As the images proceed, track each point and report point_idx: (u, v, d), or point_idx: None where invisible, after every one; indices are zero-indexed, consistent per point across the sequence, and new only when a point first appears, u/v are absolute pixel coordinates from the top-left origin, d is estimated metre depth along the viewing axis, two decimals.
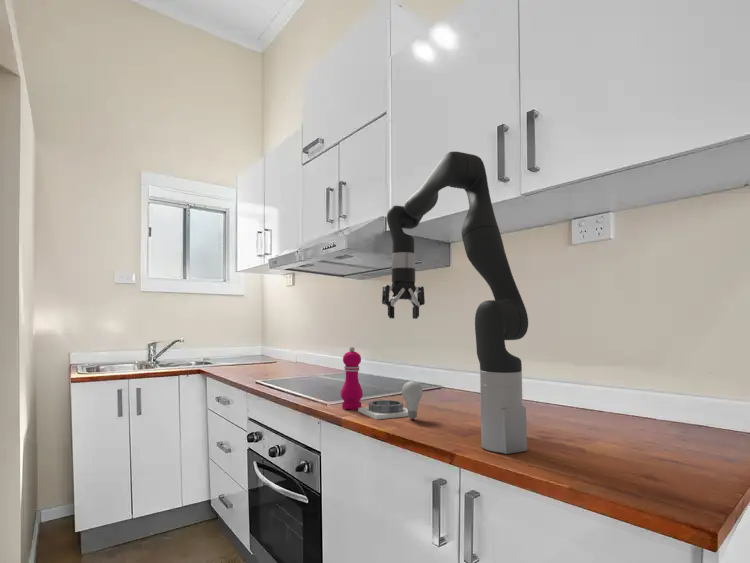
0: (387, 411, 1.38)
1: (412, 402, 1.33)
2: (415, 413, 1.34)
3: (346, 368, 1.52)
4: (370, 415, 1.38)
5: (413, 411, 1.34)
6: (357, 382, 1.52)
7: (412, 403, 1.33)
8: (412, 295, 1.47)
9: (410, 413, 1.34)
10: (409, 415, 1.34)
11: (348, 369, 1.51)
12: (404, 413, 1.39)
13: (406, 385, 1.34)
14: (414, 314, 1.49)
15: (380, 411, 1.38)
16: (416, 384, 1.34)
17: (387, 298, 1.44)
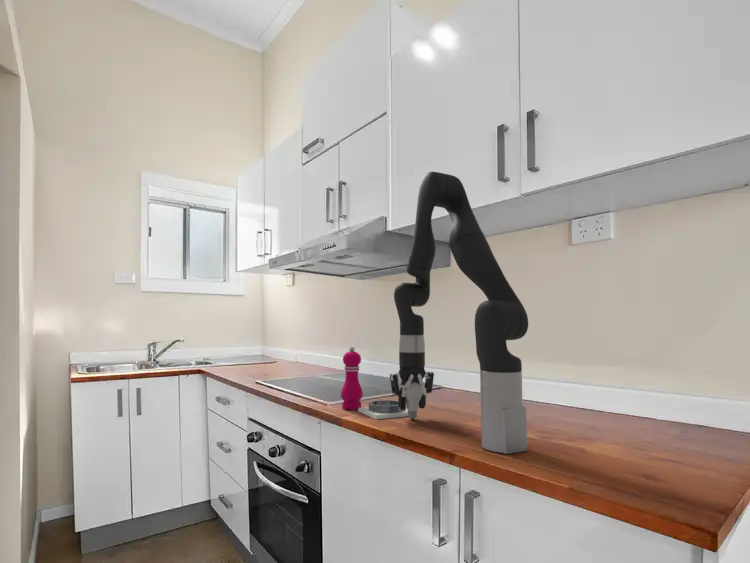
0: (387, 411, 1.38)
1: (412, 402, 1.33)
2: (415, 413, 1.34)
3: (346, 368, 1.52)
4: (370, 415, 1.38)
5: (412, 411, 1.34)
6: (357, 382, 1.52)
7: (412, 403, 1.33)
8: (420, 382, 1.35)
9: (410, 413, 1.34)
10: (409, 415, 1.34)
11: (348, 369, 1.51)
12: (404, 413, 1.39)
13: None
14: (420, 403, 1.36)
15: (380, 411, 1.38)
16: (416, 384, 1.34)
17: (397, 389, 1.32)
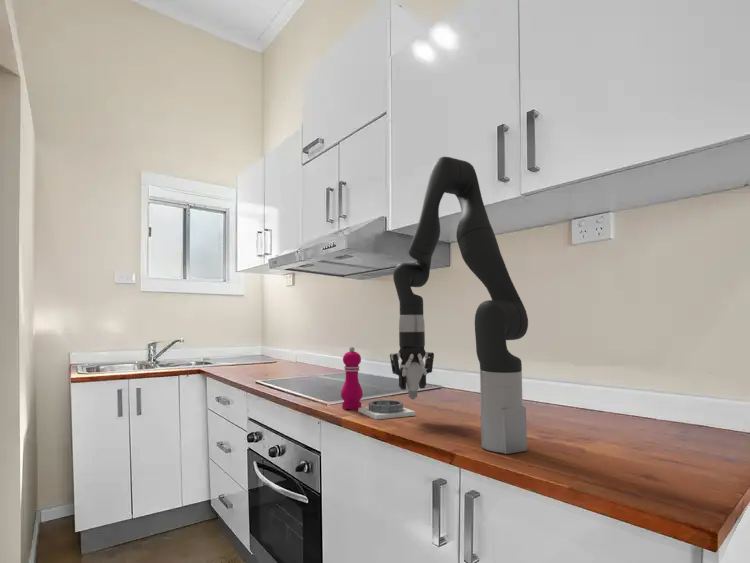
0: (387, 411, 1.38)
1: (412, 382, 1.33)
2: (415, 393, 1.34)
3: (346, 368, 1.52)
4: (370, 415, 1.38)
5: (413, 390, 1.34)
6: (357, 382, 1.52)
7: (412, 383, 1.33)
8: (420, 361, 1.35)
9: (410, 393, 1.34)
10: (410, 395, 1.34)
11: (348, 369, 1.51)
12: (404, 413, 1.39)
13: None
14: (421, 383, 1.36)
15: (380, 411, 1.38)
16: (416, 364, 1.34)
17: (397, 368, 1.32)
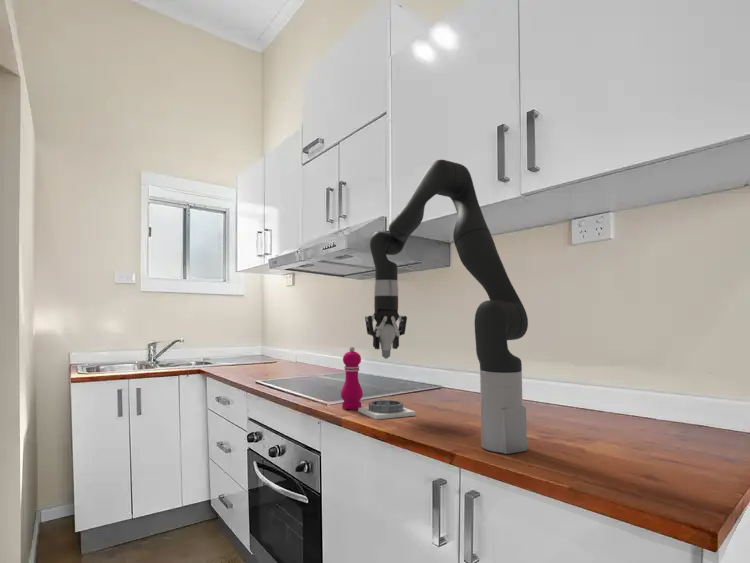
0: (387, 411, 1.38)
1: (385, 342, 1.43)
2: (388, 352, 1.44)
3: (346, 368, 1.52)
4: (370, 415, 1.38)
5: (386, 350, 1.44)
6: (357, 382, 1.52)
7: (385, 343, 1.43)
8: (394, 324, 1.45)
9: (383, 352, 1.44)
10: (383, 354, 1.44)
11: (348, 369, 1.51)
12: (404, 413, 1.39)
13: None
14: (394, 344, 1.46)
15: (380, 411, 1.38)
16: (389, 325, 1.44)
17: (371, 329, 1.42)
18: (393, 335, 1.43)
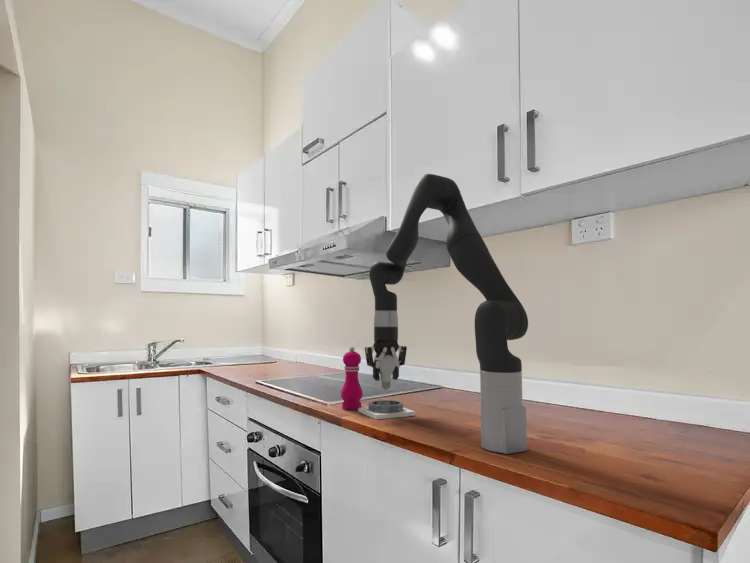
0: (387, 411, 1.38)
1: (385, 373, 1.42)
2: (388, 383, 1.43)
3: (346, 368, 1.52)
4: (370, 415, 1.38)
5: (386, 381, 1.43)
6: (357, 382, 1.52)
7: (385, 374, 1.42)
8: (393, 354, 1.44)
9: (383, 383, 1.43)
10: (383, 385, 1.43)
11: (348, 369, 1.51)
12: (404, 413, 1.39)
13: None
14: (394, 375, 1.45)
15: (380, 411, 1.38)
16: (389, 356, 1.43)
17: (371, 360, 1.41)
18: (393, 366, 1.43)
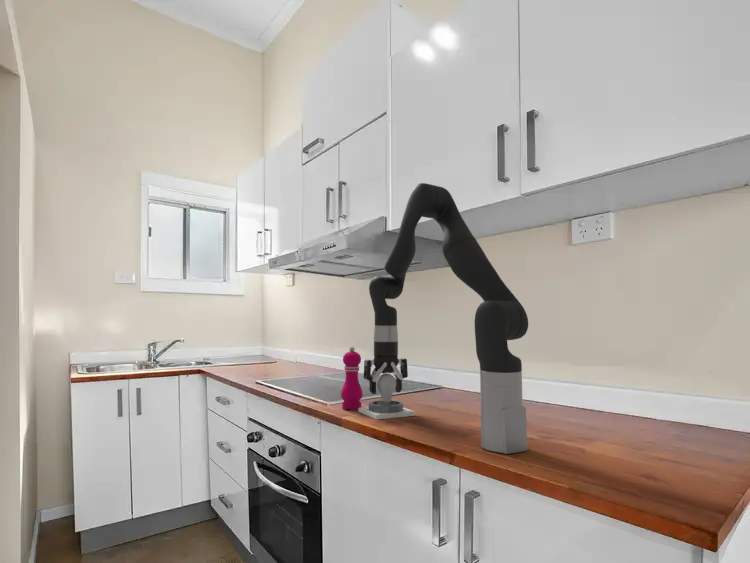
0: (387, 411, 1.38)
1: (386, 393, 1.42)
2: (389, 403, 1.43)
3: (346, 368, 1.52)
4: (370, 415, 1.38)
5: (386, 401, 1.42)
6: (357, 382, 1.52)
7: (386, 394, 1.42)
8: (394, 369, 1.44)
9: (384, 403, 1.42)
10: None
11: (348, 369, 1.51)
12: (404, 413, 1.39)
13: (381, 377, 1.43)
14: (397, 387, 1.45)
15: (380, 411, 1.38)
16: (390, 376, 1.43)
17: (368, 374, 1.41)
18: (394, 386, 1.42)
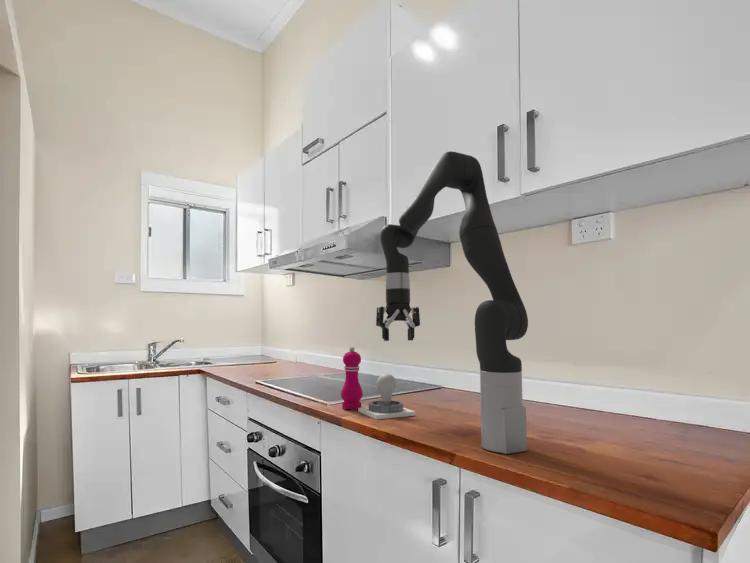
0: (387, 411, 1.38)
1: (386, 393, 1.42)
2: (389, 403, 1.43)
3: (346, 368, 1.52)
4: (370, 415, 1.38)
5: (386, 401, 1.42)
6: (357, 382, 1.52)
7: (386, 394, 1.42)
8: (407, 316, 1.43)
9: (384, 403, 1.42)
10: None
11: (348, 369, 1.51)
12: (404, 413, 1.39)
13: (380, 377, 1.43)
14: (409, 336, 1.45)
15: (380, 411, 1.38)
16: (390, 376, 1.43)
17: (381, 320, 1.40)
18: (394, 386, 1.42)
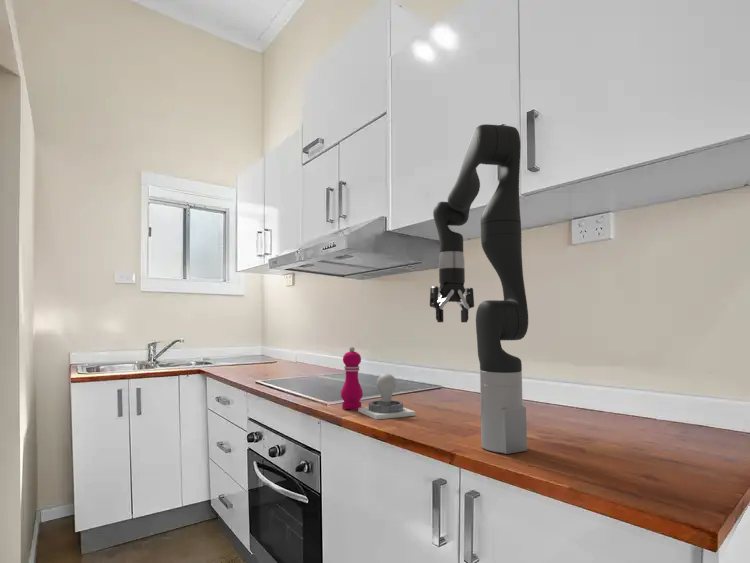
0: (387, 411, 1.38)
1: (386, 393, 1.42)
2: (389, 403, 1.43)
3: (346, 368, 1.52)
4: (370, 415, 1.38)
5: (386, 401, 1.42)
6: (357, 382, 1.52)
7: (386, 394, 1.42)
8: (461, 297, 1.37)
9: (384, 403, 1.42)
10: None
11: (348, 369, 1.51)
12: (404, 413, 1.39)
13: (380, 377, 1.43)
14: (463, 317, 1.39)
15: (380, 411, 1.38)
16: (390, 376, 1.43)
17: (436, 300, 1.34)
18: (394, 386, 1.42)
